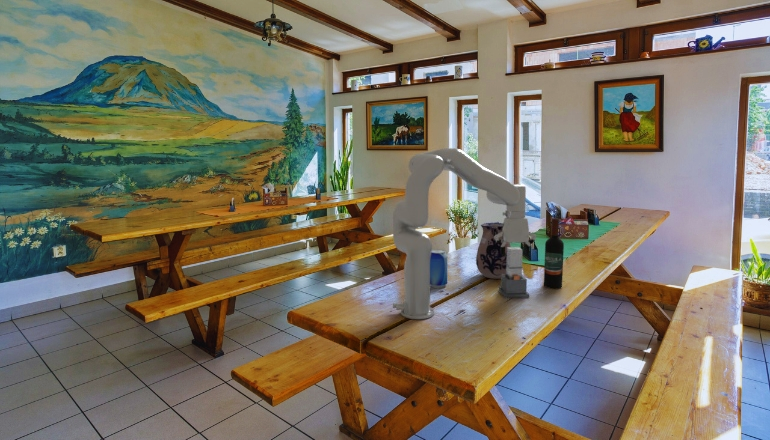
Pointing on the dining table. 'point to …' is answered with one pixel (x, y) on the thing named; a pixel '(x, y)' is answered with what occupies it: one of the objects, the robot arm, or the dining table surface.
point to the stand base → (513, 287)
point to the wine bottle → (554, 258)
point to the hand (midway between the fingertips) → (514, 255)
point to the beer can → (438, 268)
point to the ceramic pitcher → (491, 252)
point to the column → (514, 262)
